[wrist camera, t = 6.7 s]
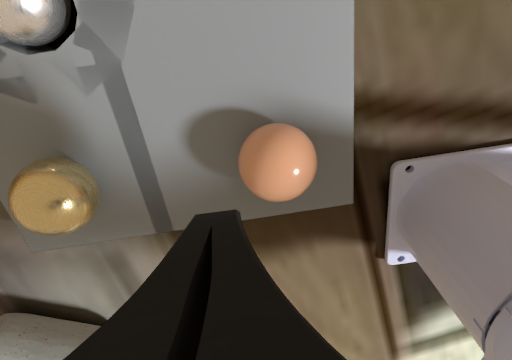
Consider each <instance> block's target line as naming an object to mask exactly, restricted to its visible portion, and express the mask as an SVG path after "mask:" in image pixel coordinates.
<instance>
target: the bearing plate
mask: <svg viewBox="0 0 512 360" xmlns="http://www.w3.org/2000/svg"><path fill="white" fill-rule="evenodd" d="M73 1H74V4H75V7H76V9H77V12H78V13H77V20H76V27H75V31H74V32H73V33H72V34H71V35H70V36H69V37H68V39H67V40H66V41H65V42H64V43H63V44H62V45H61V46H60V47H59V48H57V49H56V48H53V47H50V46H48V45H45V44H44V45H39V46H26V45H20V44H16V43H13V42H10V41H8V40H5V39H3V38H1V37H0V201H1V202H2V204H3V206H4V207H5V209H6V211H7V212H8V214H9V216H10V217H11V219H12V221H13V222H14V224H15V226H16V227H17V229H18V231H19V232H20V234H21V236H22V237H23V239H24V241H25V242H26V244H27V246H28V247H29V249H30V251H31V252H39V251H45V250H52V249H59V248H65V247H72V246H78V245H85V244H91V243H98V242H105V241H111V240H118V239H124V238H131V237H137V236H144V235H151V234H157V233H164V232H170V231H177V230H183V229H185V228H186V227H187V225H188V224H189V223H190V221H191V220H192V218H193V217H194V216H195V215H196V214H204V213H212V212H219V211H227V210H234V209H236V210H238V211H239V212H240V214H241V220H242V221H243V220H249V219H256V218H262V217H269V216H276V215H282V214H289V213H295V212H302V211H308V210H315V209H322V208H328V207H335V206H341V205H348V204H353V167H354V0H73ZM271 123H285V124H289V125H292V126H294V127H297V128H298V129H300V130H301V131H303V132H304V133H305V134H306V135H307V136H308V137H309V139H310V140H311V141H312V143H313V145H314V147H315V150H316V153H317V171H316V175H315V177H314V180H313V182H312V183H311V185H310V186H309V187H308V189H307V190H306V191H305V192H304V193H302V194H301V195H300V196H298V197H296V198H294V199H292V200H289V201H284V202H271V201H267V200H264V199H261V198H259V197H258V196H256V195H255V194H253V193H252V192H251V191H250V190H249V189H248V188H247V187H246V185H245V184H244V182H243V180H242V178H241V176H240V172H239V167H238V158H239V153H240V149H241V147H242V145H243V143H244V141H245V140H246V138H247V137H248V136H249V135H250V134H251V133H252V132H253V131H255V130H256V129H258V128H260V127H262V126H264V125H267V124H271ZM53 157H55V158H66V159H70V160H73V161H75V162H77V163H79V164H81V165H83V166H84V167H85V168H87V169H88V170H89V171H90V172H91V173H92V174H93V176H94V177H95V179H96V181H97V183H98V186H99V190H100V202H99V206H98V209H97V211H96V213H95V215H94V216H93V217H92V219H91V220H90V221H89V222H88V223H87V224H86V225H85V226H83V227H82V228H80V229H78V230H77V231H75V232H72V233H69V234H66V235H61V236H44V235H39V234H36V233H33V232H31V231H29V230H27V229H25V228H24V227H22V226H21V225H20V224H19V223H18V222H17V221H16V220H15V218H14V217H13V215H12V214H11V212H10V209H9V206H8V190H9V187H10V184H11V182H12V180H13V178H14V177H15V176H16V174H17V173H18V172H19V171H20V170H21V169H23V168H24V167H25V166H27V165H29V164H30V163H32V162H35V161H37V160H40V159H45V158H53Z"/></svg>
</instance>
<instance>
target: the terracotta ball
mask: <svg viewBox="0 0 512 360" xmlns="http://www.w3.org/2000/svg"><path fill="white" fill-rule="evenodd" d="M238 167H239V172H240V176H241V178H242V180H243V182H244V184H245V185H246V187H247V188H248V189H249V190H250V191H251V192H252V193H253V194H255V195H256V196H258V197H259V198H261V199H264V200H267V201H271V202H284V201H289V200H292V199H294V198H296V197H298V196H300V195H301V194H302V193H304V192H305V191H306V190H307V189H308V187H309V186H310V185H311V183H312V182H313V180H314V177H315V175H316V171H317V153H316V150H315V147H314V145H313V143H312V141H311V140H310V139H309V137H308V136H307V135H306V134H305V133H304V132H303V131H301V130H300V129H298V128H297V127H294V126H292V125H289V124H285V123H271V124H267V125H264V126H262V127H260V128H258V129H256V130H255V131H253V132H252V133H251V134H250V135H249V136H248V137H247V138H246V140H245V141H244V143H243V145H242V147H241V149H240V153H239V158H238Z"/></svg>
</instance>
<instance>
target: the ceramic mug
mask: <svg viewBox="0 0 512 360" xmlns="http://www.w3.org/2000/svg"><path fill="white" fill-rule="evenodd" d="M100 327H101V326H97V325H92V324H86V323H81V322H75V321H68V320H61V319H55V318H50V317H45V316H39V315H34V314H27V313H5V314H0V360H63V359H64V358H65V357H67V356H68V355H69V354H70V353H71V352H72V351H73V350H75V349H76V348H77V347H78V346H79V345H80V344H81V343H83V342H84V341H85V340H86V339H87V338H88V337H89V336H91V335H92V334H93V333H94V332H95V331H96V330H97V329H98V328H100Z"/></svg>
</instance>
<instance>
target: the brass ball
mask: <svg viewBox="0 0 512 360" xmlns="http://www.w3.org/2000/svg"><path fill="white" fill-rule="evenodd" d="M99 202H100V190H99V186H98V183H97V181H96V179H95V177H94V176H93V174H92V173H91V172H90V171H89V170H88V169H87V168H85V167H84V166H83V165H81V164H79V163H77V162H75V161H73V160H70V159H66V158H55V157H53V158H45V159H40V160H37V161H35V162H32V163H30V164H29V165H27V166H25V167H24V168H23V169H21V170H20V171H19V172H18V173H17V174H16V176H15V177H14V178H13V180H12V182H11V184H10V187H9V190H8V206H9V209H10V212H11V214H12V215H13V217H14V218H15V220H16V221H17V222H18V223H19V224H20V225H21V226H22V227H24V228H25V229H27V230H29V231H31V232H33V233H36V234H39V235H44V236H61V235H66V234H69V233H72V232H75V231H77V230H78V229H80V228H82V227H83V226H85V225H86V224H87V223H88V222H89V221H90V220H91V219H92V217H93V216H94V215H95V213H96V211H97V209H98V206H99Z"/></svg>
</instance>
